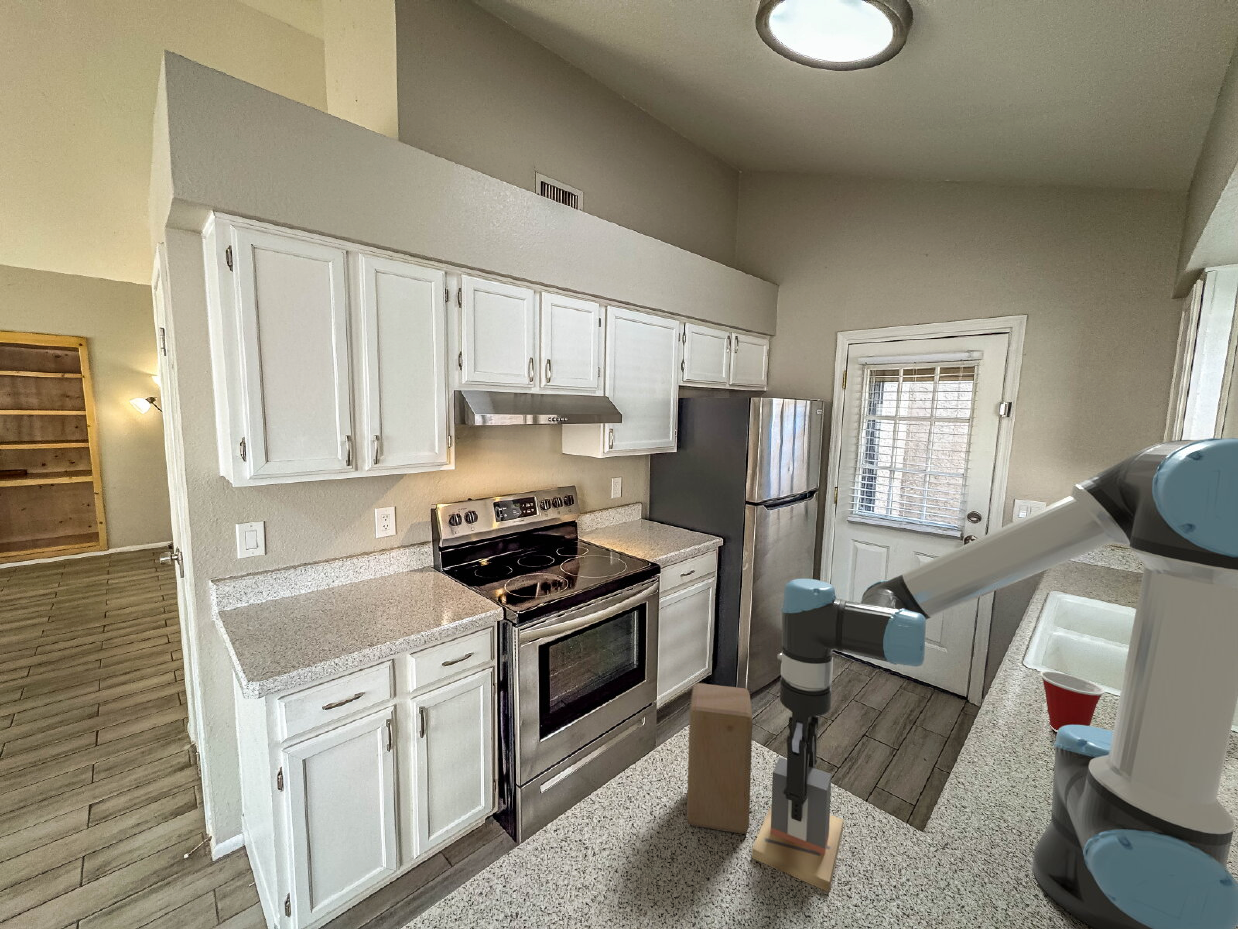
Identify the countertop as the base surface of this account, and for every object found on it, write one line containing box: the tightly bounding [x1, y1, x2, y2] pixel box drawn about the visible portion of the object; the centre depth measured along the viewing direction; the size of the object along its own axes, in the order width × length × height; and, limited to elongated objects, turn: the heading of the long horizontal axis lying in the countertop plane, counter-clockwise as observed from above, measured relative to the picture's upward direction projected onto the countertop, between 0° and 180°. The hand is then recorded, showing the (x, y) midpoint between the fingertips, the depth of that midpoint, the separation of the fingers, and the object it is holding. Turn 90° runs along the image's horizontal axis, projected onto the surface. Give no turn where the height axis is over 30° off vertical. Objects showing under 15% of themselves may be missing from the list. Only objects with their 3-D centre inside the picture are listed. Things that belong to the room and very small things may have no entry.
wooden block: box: [686, 682, 753, 835], centre depth 87 cm, size 10×10×20 cm
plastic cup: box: [1039, 671, 1106, 730], centre depth 113 cm, size 11×11×12 cm
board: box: [751, 803, 844, 893], centre depth 81 cm, size 11×14×2 cm
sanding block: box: [771, 756, 832, 855], centre depth 80 cm, size 8×4×10 cm, turn 60°
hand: (800, 824), depth 80 cm, fingers closed on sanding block, 4 cm apart
